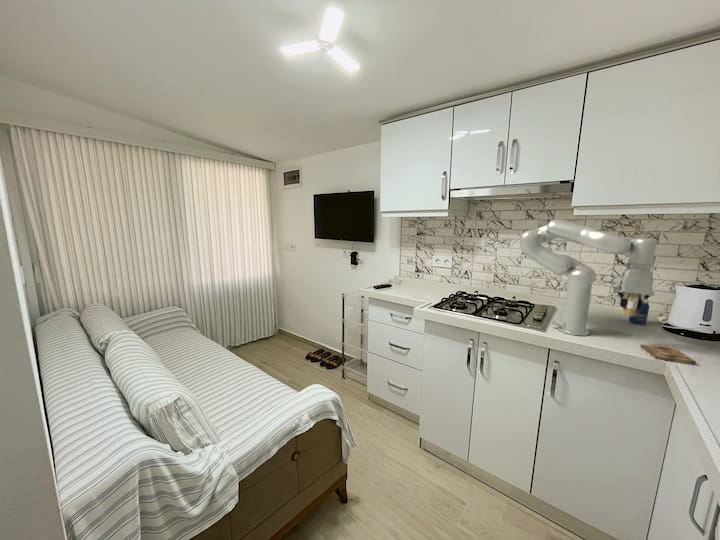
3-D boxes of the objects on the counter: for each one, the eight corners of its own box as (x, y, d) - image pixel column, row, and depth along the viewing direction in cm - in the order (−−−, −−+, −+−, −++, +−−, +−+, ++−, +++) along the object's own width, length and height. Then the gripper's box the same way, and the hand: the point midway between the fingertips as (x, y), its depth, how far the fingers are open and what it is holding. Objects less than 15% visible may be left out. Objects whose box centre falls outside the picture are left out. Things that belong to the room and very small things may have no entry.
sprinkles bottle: (618, 313, 135) (625, 284, 133) (628, 313, 136) (634, 284, 133) (628, 316, 131) (635, 286, 128) (638, 316, 131) (645, 286, 129)
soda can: (636, 325, 159) (640, 303, 157) (625, 320, 166) (628, 299, 164) (649, 325, 159) (653, 303, 157) (637, 321, 166) (641, 300, 164)
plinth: (655, 359, 120) (656, 354, 119) (640, 347, 131) (640, 342, 130) (695, 365, 116) (696, 359, 115) (675, 352, 127) (676, 347, 126)
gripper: (618, 266, 128) (610, 307, 132) (669, 270, 123) (658, 313, 126) (611, 264, 135) (603, 303, 139) (658, 267, 130) (649, 308, 133)
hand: (629, 307), depth 133 cm, fingers closed on sprinkles bottle, 4 cm apart
